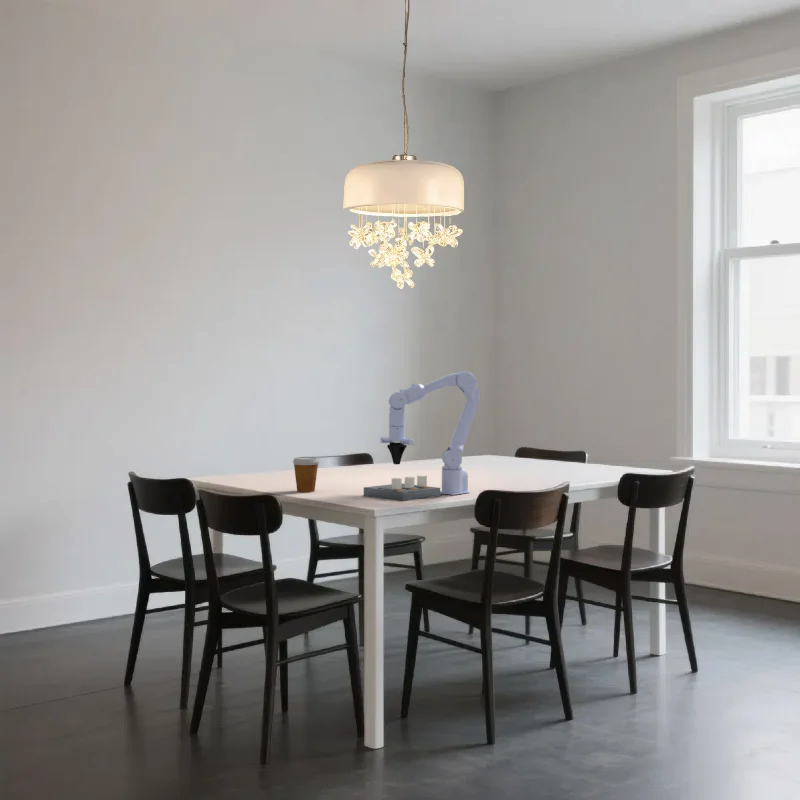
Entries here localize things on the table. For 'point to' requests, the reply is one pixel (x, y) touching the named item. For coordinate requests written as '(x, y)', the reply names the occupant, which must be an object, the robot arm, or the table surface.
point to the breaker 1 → (396, 483)
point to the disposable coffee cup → (305, 473)
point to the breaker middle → (409, 482)
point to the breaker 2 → (421, 480)
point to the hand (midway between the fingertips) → (396, 464)
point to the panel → (401, 492)
